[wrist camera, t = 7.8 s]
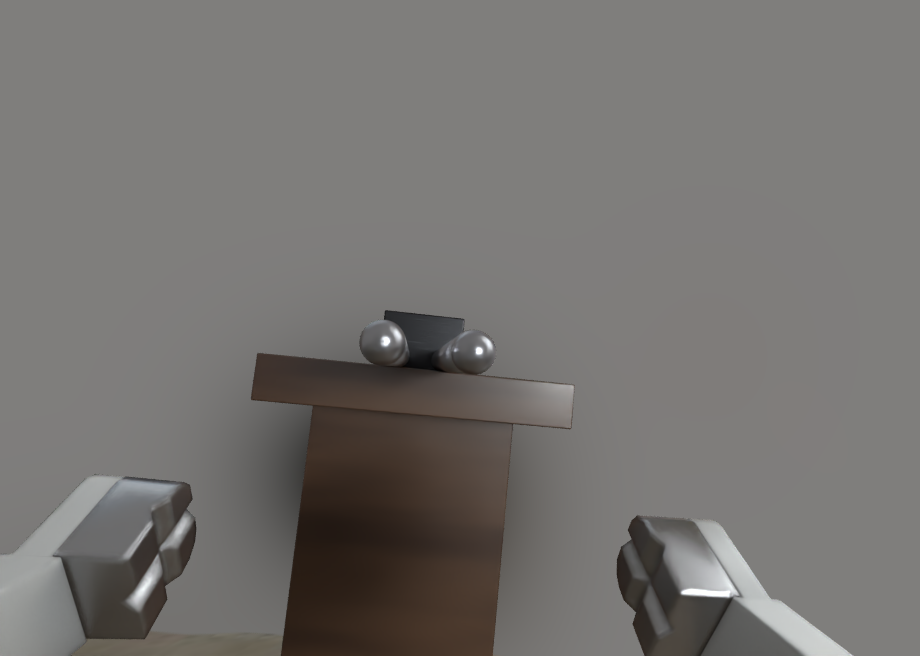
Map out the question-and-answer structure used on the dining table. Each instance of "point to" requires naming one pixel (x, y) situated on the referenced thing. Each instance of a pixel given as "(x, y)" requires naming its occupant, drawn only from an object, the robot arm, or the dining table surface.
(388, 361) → the twin chrome rods
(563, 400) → the stand
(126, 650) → the dining table surface
